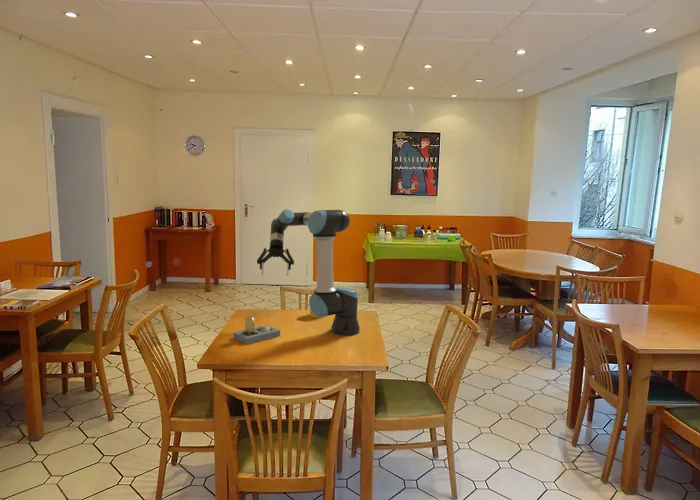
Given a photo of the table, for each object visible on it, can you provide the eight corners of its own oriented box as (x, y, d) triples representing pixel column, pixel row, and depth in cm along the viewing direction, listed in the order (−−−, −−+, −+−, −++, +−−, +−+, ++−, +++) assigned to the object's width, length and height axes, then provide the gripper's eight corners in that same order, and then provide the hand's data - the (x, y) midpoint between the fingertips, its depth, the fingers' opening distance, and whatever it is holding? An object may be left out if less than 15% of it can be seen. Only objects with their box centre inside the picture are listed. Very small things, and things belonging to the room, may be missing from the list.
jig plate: (280, 336, 259) (280, 330, 258) (247, 344, 245) (247, 338, 244) (266, 330, 267) (266, 324, 267) (233, 338, 253) (233, 332, 253)
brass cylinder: (256, 339, 253) (256, 317, 251) (248, 341, 250) (248, 319, 248) (250, 336, 256) (251, 315, 254) (243, 338, 253) (243, 317, 251)
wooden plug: (271, 335, 259) (271, 327, 258) (263, 337, 255) (263, 329, 255) (265, 332, 263) (265, 324, 262) (257, 334, 259) (257, 326, 258)
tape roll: (317, 312, 304) (317, 296, 303) (330, 315, 299) (330, 299, 297) (306, 315, 296) (306, 300, 295) (319, 319, 291) (320, 303, 289)
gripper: (298, 247, 292) (297, 278, 279) (254, 246, 289) (252, 277, 277) (298, 239, 286) (298, 270, 273) (254, 238, 283) (251, 269, 271)
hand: (274, 274), depth 275 cm, fingers open, 13 cm apart
